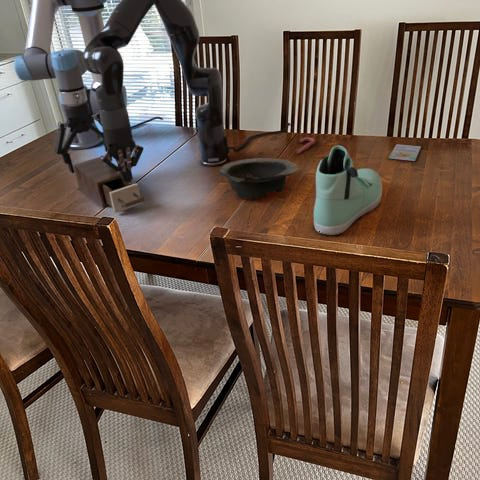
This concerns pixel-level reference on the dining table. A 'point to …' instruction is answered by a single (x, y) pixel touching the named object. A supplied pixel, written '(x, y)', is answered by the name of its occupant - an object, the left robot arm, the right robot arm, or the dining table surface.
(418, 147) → the baking ingredient package
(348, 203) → the sneaker
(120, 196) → the drawer
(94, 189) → the cabinet
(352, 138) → the dining table surface
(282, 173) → the stone bowl
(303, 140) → the candy cane
